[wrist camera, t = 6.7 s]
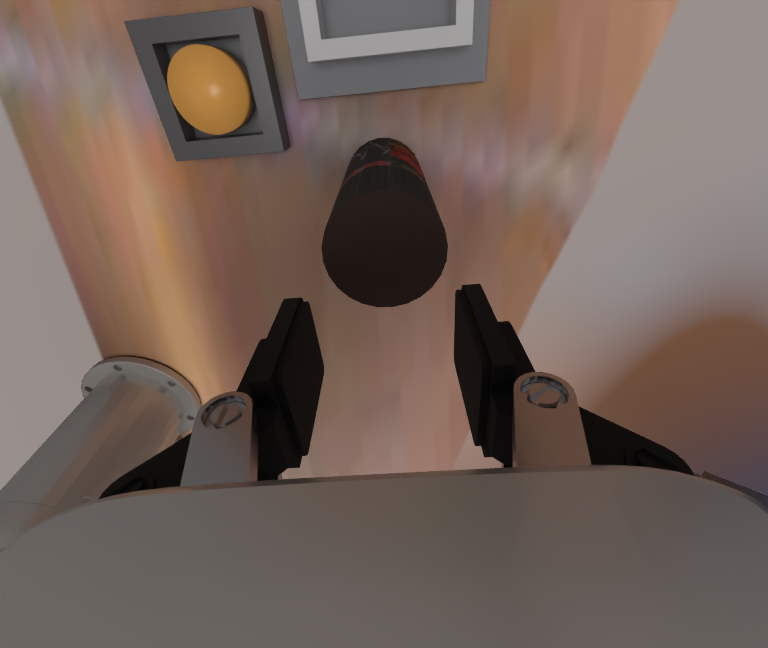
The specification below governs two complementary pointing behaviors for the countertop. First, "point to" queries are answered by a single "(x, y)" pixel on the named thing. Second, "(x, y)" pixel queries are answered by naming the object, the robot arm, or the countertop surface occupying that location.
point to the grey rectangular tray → (384, 44)
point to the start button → (210, 89)
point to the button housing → (240, 38)
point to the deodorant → (384, 228)
